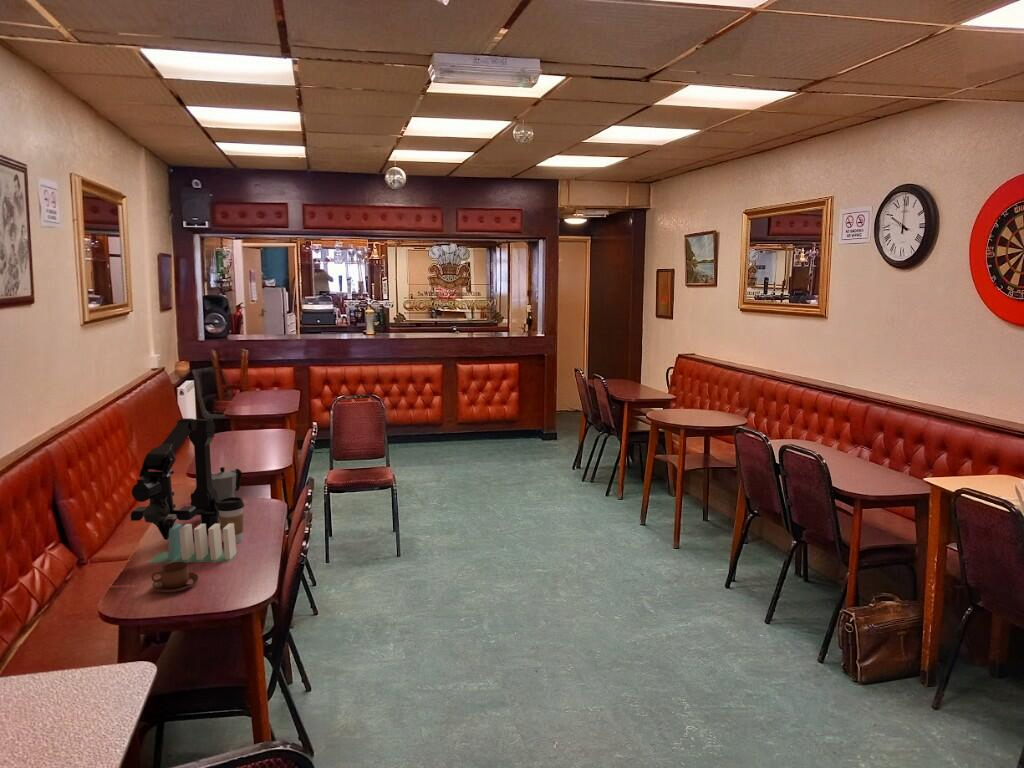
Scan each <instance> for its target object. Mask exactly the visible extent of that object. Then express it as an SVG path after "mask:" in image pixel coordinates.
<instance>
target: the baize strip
mask: <svg viewBox="0 0 1024 768" xmlns="http://www.w3.org/2000/svg"><path fill="white" fill-rule="evenodd" d="M239 553H240V551H236V554H235V555H234V556H233V557H232V558H231V559H230V560H225V552H224V551H222V554H221V555H220V556H219V557H218V558H217V559H216V560H211V556H210V551H208V555H206V556H205V557H204V558H203V559H202V560H196V551H194V555H193V556H191V557H190V558H189V559H188V560H182V553H181V551H180V555H179V556H177V557H176V558H175V559H174V560H168V551H167V552H166V551H164V552H159V553H158V554H157V555H156V556H154V557H153V558H151V560H149V561H148V564H149V563H173V562H186V563H218V562H219V563H222V562H223V563H226V562H227V563H228V562H229V563H230V562H231V561H232V560H233V559H234V558H235V557H236V556H237V555H238V554H239Z"/></svg>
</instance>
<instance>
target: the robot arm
mask: <svg viewBox="0 0 1024 768" xmlns="http://www.w3.org/2000/svg"><path fill="white" fill-rule="evenodd" d="M176 422H177V423H176V426H174V428H173V429H172V430H171V432H170V433H169V434H168V435H167V436H166V438H165V439H164V441H163V442H162V443H161V444H160V445H158V446H156V447H154V448H151V450H150V451H149V452H148V453H147V454H146V455H145V457H144V460H143V462H142V467H141V470H140V472H139V475H138V476H139V478H137V480H136V484H134V485H133V487H132V489H131V495H132V497H133V499H134V500H135V501H137V502H140V503H144V502H147V501H148V500H149V503H148V505H147V506H138V507H137V508H135V509H133V510H132V511H130V515H129V517H130V521H131V522H135V521H138V522H139V521H141V520H142V519H143V518H144V522H145V523H150V524H153V525H155V526H156V527H157V528H158V531H159V532H160V534H161V536H162V538H163V539H164V541H169V529H171V528H172V527H173V526H175V522H176V521H177V520H179V521H190V520H191V519H193V518H194V517H196V516H200V524H206V532H207V534H208V529H209V528H210V527H211V526H213V525H214V524H220V519H219V517H218V515H219V510H217V506H218V501H219V499H218V494H217V491H216V490H215V489H214V487H213V486H212V477H211V475H212V461H211V459H212V458H211V446H210V445H211V443H212V441H213V439H214V437H215V430H216V425H215V423H214V422H213V420H212V419H210V418H207V419H205V418H193V417H192V418H180V419H178V420H177V421H176ZM187 438H188V439H189V441H190V442H191V444H192V445H193V447H194V449H193V450H194V452H193V453H194V466H195V467H194V468H195V484H196V487H195V489H194V490H193V492H191V493H190V505H184V506H182V507H181V508H180V509H175V508H176V504H174V496H175V491H173V488H172V487H173V486H172V477H171V475H174V474H175V470H172V468H173V465H174V463H175V462H176V460H177V459H176V453H177V452H178V450H180V448H181V446H182V445H183V444H184V442H185V441H186V440H187ZM220 530H222V529H221V524H220Z"/></svg>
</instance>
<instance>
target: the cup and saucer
mask: <svg viewBox="0 0 1024 768" xmlns="http://www.w3.org/2000/svg"><path fill="white" fill-rule="evenodd" d="M155 575H160V577H159V578H156V579H155ZM150 579H151V580H152V581H153V582H152V588H153V590H155V591H156V592H158V593H159V592H160V593H176V592H177V593H178V592H180V591H184V590H187V589H189V588H191V587H193V586H194V585H195V584H196V583H197V582H198V579H199V576H198V574H196V573H193V572H190V571H189V563H188V562H168V563H167V564H164V565H162V566H161V567H160V568H159V571H154V572H152V573H151V576H150ZM189 579H190V580H192V581H193V582H192V583H188V581H189Z"/></svg>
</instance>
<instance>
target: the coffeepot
mask: <svg viewBox="0 0 1024 768" xmlns="http://www.w3.org/2000/svg"><path fill="white" fill-rule="evenodd" d="M225 470H226V467H219V471H220V472H216V473H213V474H211V477H212V486H213V487H214V489H215V490H216V491H217V494H218V499H219V501H220V500H222V499H225V498H230V497H236V495H235V492H238V491H239V490H240V486H241V482H242V476H243V472H242V471H241V469H240V468H235V469H231V470H230V471H225ZM218 517H219V515H218Z"/></svg>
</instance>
